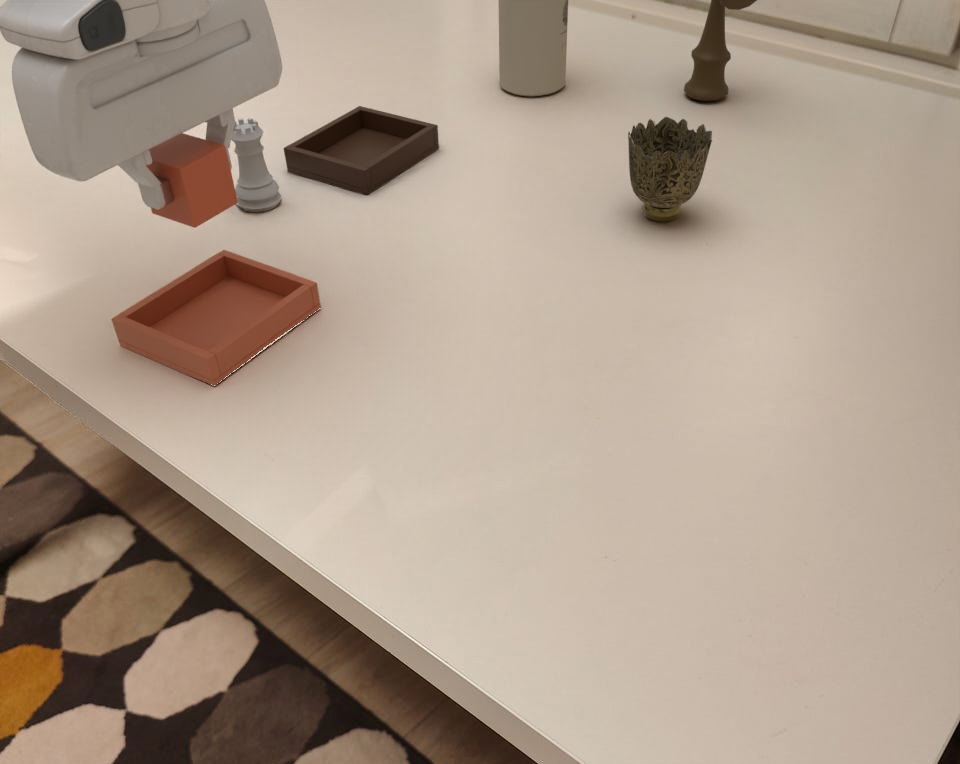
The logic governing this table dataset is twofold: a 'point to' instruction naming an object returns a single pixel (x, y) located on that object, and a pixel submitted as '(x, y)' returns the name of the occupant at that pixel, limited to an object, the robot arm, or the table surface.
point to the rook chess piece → (253, 170)
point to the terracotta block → (194, 178)
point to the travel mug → (532, 46)
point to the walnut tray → (362, 149)
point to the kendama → (712, 54)
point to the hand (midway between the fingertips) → (189, 188)
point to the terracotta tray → (216, 315)
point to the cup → (666, 165)
